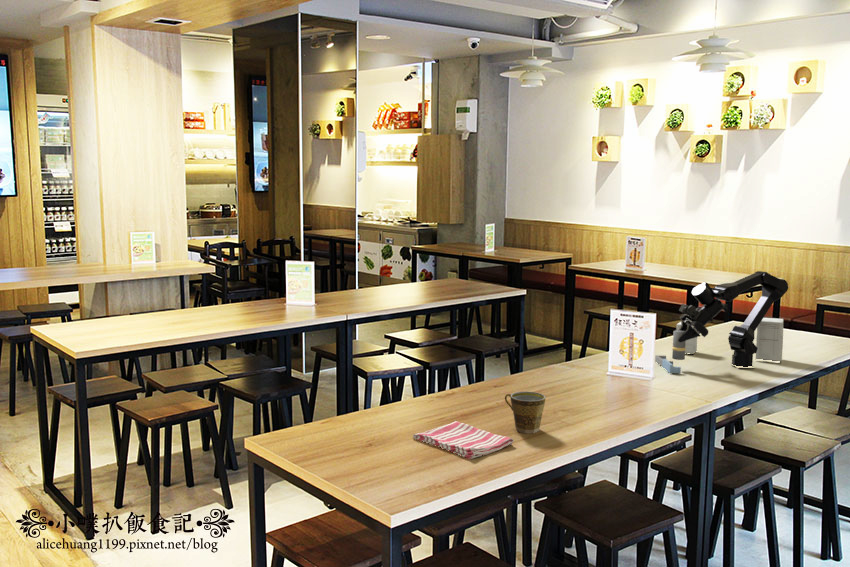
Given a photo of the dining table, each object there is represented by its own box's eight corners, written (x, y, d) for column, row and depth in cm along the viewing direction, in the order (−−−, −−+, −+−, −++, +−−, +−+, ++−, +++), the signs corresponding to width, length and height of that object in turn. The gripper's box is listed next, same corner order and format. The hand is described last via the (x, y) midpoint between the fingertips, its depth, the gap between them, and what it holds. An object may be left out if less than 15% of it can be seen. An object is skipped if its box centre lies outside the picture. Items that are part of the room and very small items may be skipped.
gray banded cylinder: (682, 357, 292) (684, 330, 291) (686, 360, 287) (687, 332, 286) (670, 357, 292) (671, 330, 291) (673, 359, 287) (675, 332, 286)
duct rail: (665, 361, 304) (665, 353, 303) (680, 374, 284) (680, 364, 284) (655, 361, 304) (655, 352, 304) (669, 373, 284) (670, 364, 284)
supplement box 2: (782, 359, 308) (784, 318, 306) (780, 364, 300) (783, 322, 298) (756, 357, 313) (758, 316, 311) (754, 361, 305) (757, 320, 302)
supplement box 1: (697, 352, 321) (698, 322, 320) (693, 355, 315) (694, 325, 313) (679, 350, 325) (680, 321, 324) (674, 353, 319) (676, 323, 317)
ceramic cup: (551, 429, 220) (552, 395, 218) (531, 437, 212) (532, 403, 211) (514, 420, 228) (515, 387, 227) (494, 427, 221) (495, 394, 219)
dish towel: (471, 462, 195) (471, 449, 194) (411, 440, 212) (411, 428, 211) (515, 447, 206) (515, 434, 206) (454, 427, 223) (454, 415, 223)
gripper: (686, 293, 296) (656, 320, 298) (701, 300, 277) (669, 329, 279) (705, 313, 296) (675, 340, 298) (721, 322, 278) (689, 351, 280)
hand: (677, 340), depth 289 cm, fingers closed on gray banded cylinder, 4 cm apart
